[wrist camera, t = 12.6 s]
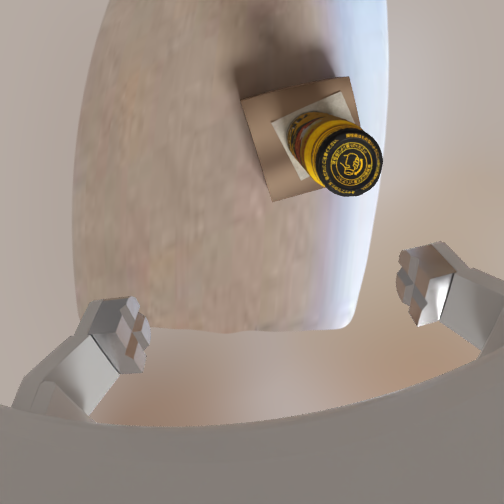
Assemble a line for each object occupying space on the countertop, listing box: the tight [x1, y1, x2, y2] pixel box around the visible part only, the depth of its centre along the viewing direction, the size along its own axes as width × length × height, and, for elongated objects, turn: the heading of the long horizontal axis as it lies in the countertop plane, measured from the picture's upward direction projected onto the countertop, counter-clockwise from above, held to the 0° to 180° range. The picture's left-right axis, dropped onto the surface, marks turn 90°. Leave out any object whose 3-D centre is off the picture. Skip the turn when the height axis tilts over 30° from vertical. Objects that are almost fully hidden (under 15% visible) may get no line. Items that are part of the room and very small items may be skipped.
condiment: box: [271, 92, 383, 197], centre depth 25 cm, size 7×8×12 cm
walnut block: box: [240, 77, 360, 202], centre depth 32 cm, size 12×12×5 cm
